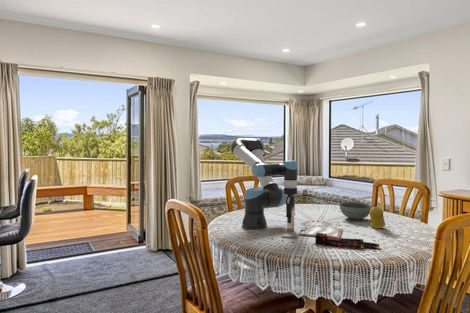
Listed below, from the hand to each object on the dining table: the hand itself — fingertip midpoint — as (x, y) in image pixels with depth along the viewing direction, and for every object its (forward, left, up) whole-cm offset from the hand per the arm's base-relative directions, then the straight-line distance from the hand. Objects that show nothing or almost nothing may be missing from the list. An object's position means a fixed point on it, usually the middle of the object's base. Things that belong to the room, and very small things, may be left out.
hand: (290, 227), depth 198 cm
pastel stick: (0, 0, -2) cm, 2 cm away
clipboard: (+17, +2, -2) cm, 17 cm away
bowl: (+34, +44, -2) cm, 56 cm away
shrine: (+47, +23, -2) cm, 52 cm away
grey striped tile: (+2, -12, -2) cm, 12 cm away
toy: (+32, -19, -3) cm, 37 cm away
